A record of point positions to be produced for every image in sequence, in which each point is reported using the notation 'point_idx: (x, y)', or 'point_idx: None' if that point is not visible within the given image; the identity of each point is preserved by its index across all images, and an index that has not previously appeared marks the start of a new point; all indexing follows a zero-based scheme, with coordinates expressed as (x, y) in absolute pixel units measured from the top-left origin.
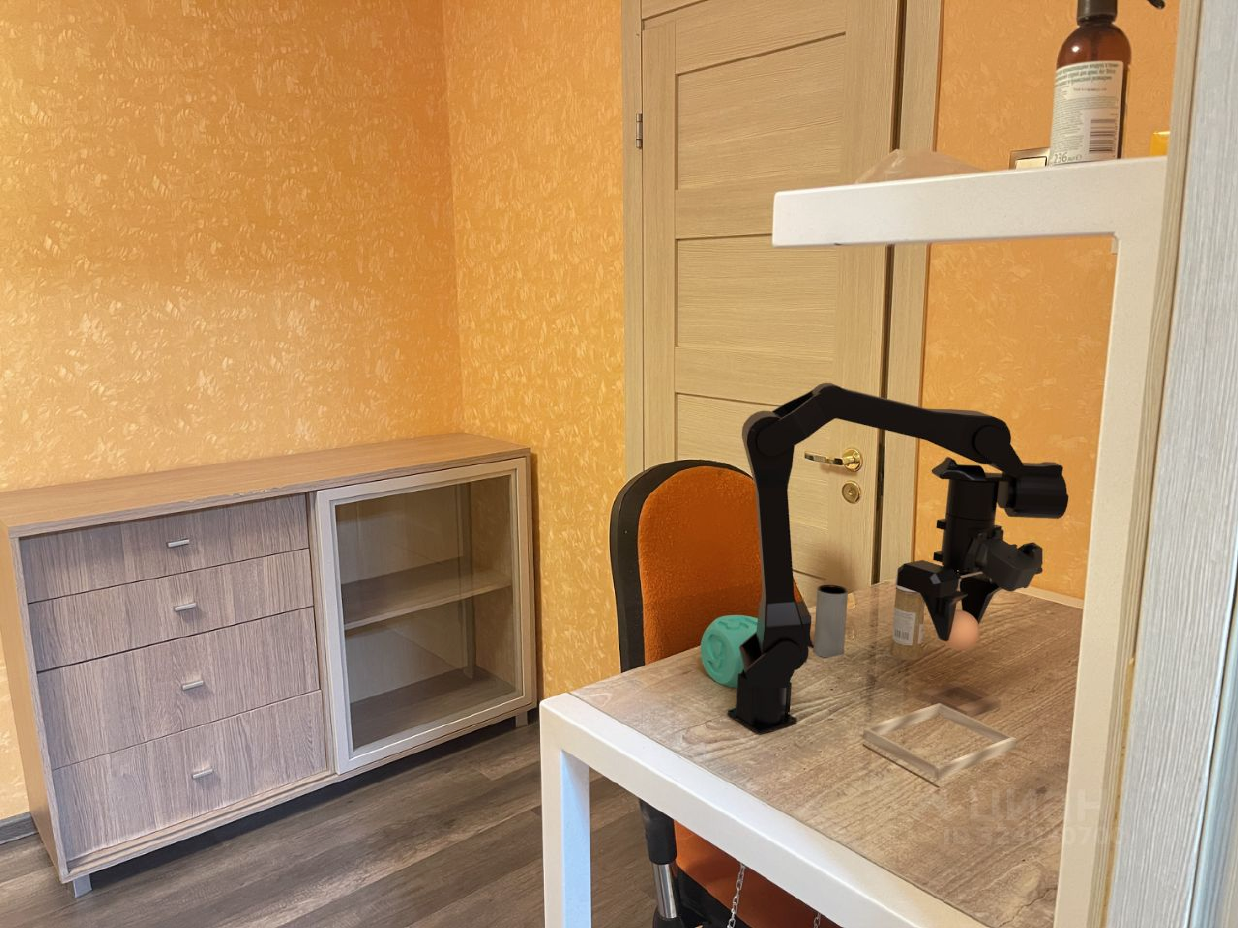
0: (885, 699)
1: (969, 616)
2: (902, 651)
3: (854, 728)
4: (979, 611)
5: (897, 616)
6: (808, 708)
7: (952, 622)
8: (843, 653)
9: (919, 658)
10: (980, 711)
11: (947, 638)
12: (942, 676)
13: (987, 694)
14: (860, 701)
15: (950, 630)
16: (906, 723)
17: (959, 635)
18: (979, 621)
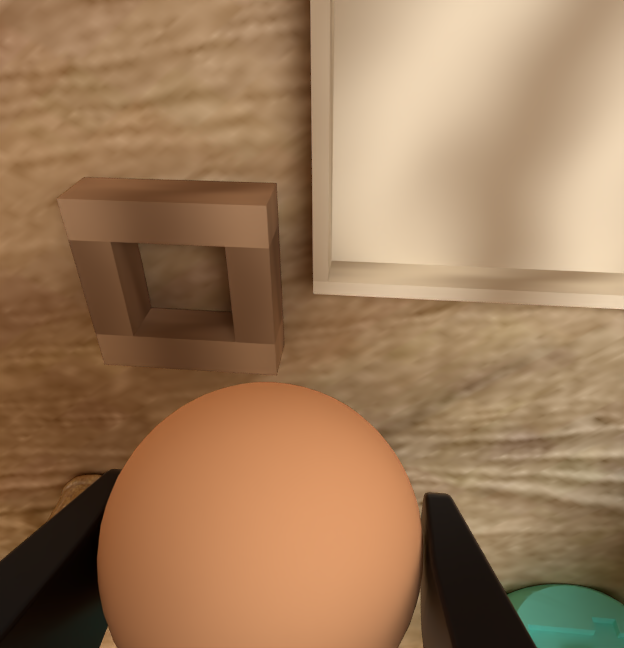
0: None
1: (211, 633)
2: None
3: (605, 357)
4: (10, 635)
5: None
6: (583, 478)
7: (463, 640)
8: None
9: (78, 487)
10: (184, 194)
11: (448, 507)
12: (72, 410)
13: (74, 250)
14: (421, 436)
15: (447, 563)
16: (516, 276)
17: (392, 490)
18: (42, 535)
